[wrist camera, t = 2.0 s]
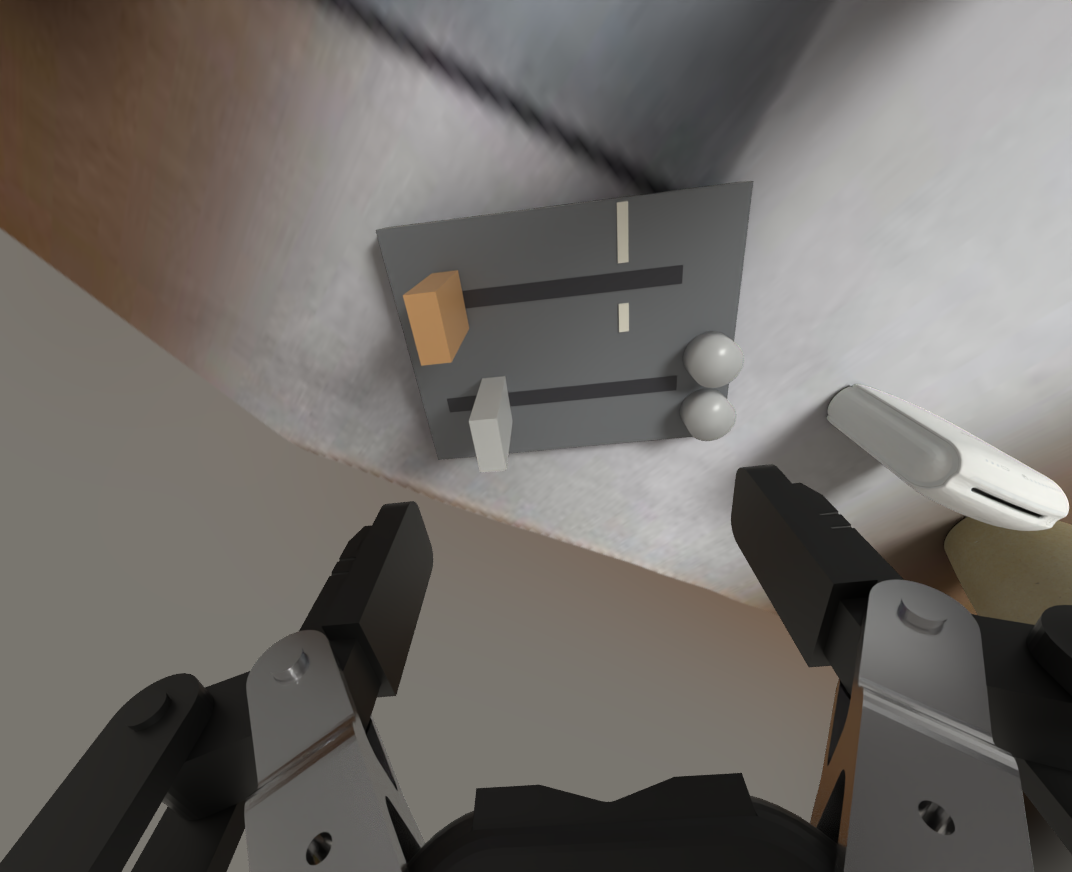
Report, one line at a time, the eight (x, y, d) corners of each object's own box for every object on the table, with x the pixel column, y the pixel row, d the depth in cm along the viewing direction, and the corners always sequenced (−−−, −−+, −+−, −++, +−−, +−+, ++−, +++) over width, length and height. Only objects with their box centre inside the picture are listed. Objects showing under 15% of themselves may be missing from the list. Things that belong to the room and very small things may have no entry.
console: (385, 227, 29) (328, 241, 22) (740, 181, 28) (816, 178, 20) (442, 447, 38) (417, 513, 31) (714, 422, 37) (760, 484, 29)
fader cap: (432, 273, 29) (402, 295, 23) (458, 270, 29) (435, 291, 23) (445, 331, 31) (421, 365, 25) (469, 328, 31) (451, 362, 25)
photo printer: (946, 415, 36) (1115, 510, 26) (906, 455, 38) (1048, 557, 28) (849, 373, 34) (988, 456, 24) (813, 417, 36) (927, 511, 26)
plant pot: (883, 524, 42) (1049, 685, 29) (1059, 446, 38) (1359, 595, 24) (922, 603, 48) (1075, 770, 34) (1079, 545, 43) (1329, 710, 30)
